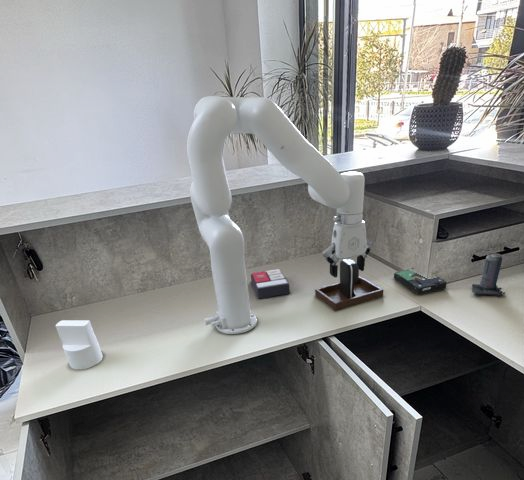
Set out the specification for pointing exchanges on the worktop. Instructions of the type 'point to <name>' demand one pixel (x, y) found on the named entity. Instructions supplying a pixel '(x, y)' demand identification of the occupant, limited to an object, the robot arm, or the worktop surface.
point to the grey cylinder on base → (489, 277)
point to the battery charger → (348, 277)
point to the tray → (338, 301)
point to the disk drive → (419, 282)
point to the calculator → (269, 283)
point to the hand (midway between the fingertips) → (347, 272)
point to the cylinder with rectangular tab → (79, 343)
